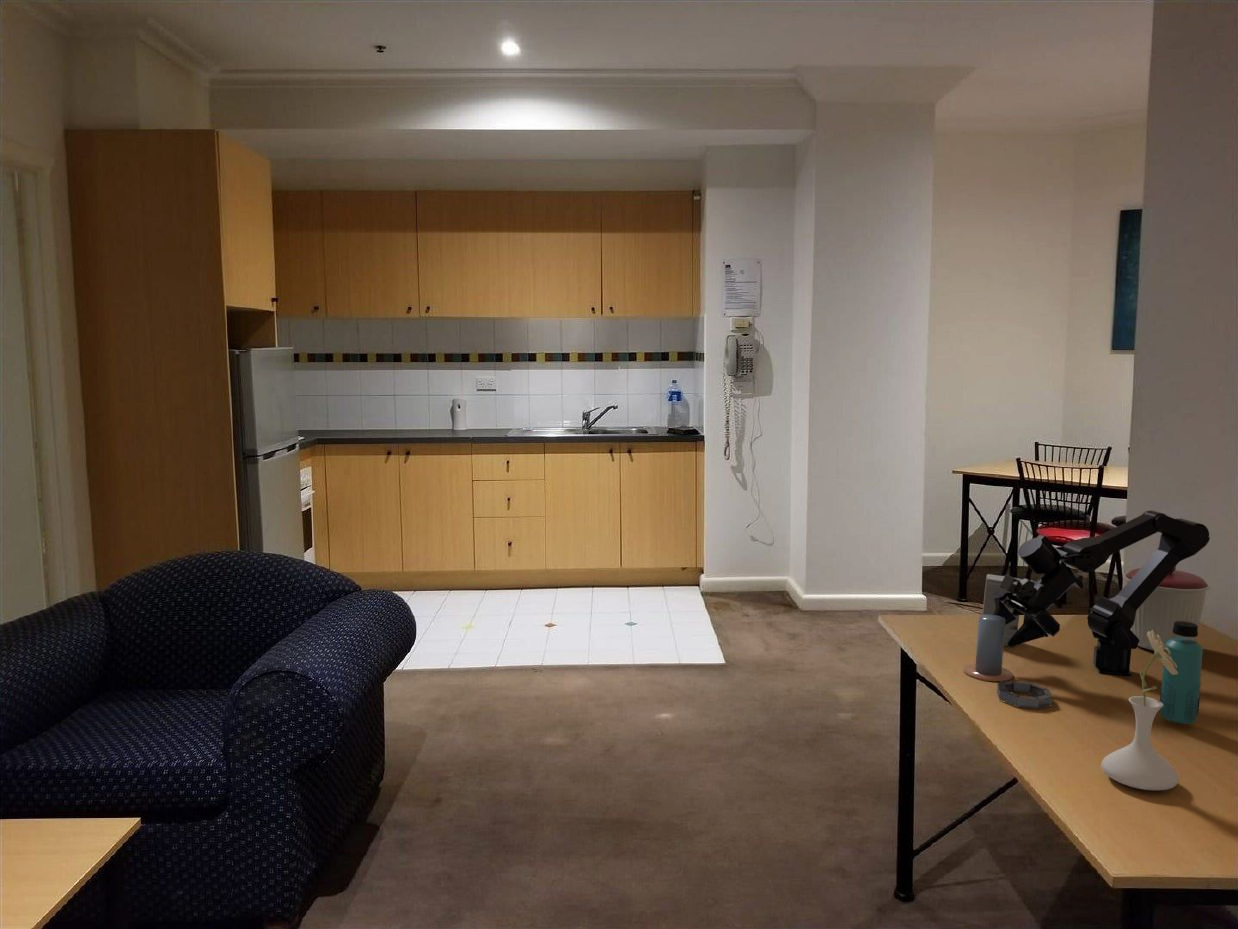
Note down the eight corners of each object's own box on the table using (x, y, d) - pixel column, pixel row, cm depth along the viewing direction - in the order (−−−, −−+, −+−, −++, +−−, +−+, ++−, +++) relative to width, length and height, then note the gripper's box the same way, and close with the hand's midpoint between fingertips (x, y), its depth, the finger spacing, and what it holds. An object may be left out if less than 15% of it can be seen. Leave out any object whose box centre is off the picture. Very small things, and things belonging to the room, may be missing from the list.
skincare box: (979, 643, 231) (984, 579, 229) (980, 635, 238) (985, 572, 236) (1018, 648, 228) (1022, 583, 226) (1017, 639, 235) (1022, 576, 233)
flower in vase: (1176, 804, 152) (1191, 651, 149) (1096, 786, 158) (1109, 638, 155) (1179, 773, 163) (1194, 630, 160) (1104, 757, 169) (1117, 618, 166)
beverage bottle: (1202, 733, 180) (1213, 629, 178) (1163, 729, 182) (1173, 626, 179) (1189, 719, 187) (1199, 619, 184) (1152, 716, 188) (1161, 616, 185)
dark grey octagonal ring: (1046, 693, 199) (1046, 684, 199) (1054, 711, 190) (1054, 701, 189) (995, 688, 202) (996, 679, 201) (1000, 705, 192) (1001, 695, 192)
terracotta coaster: (1009, 668, 214) (1009, 666, 214) (1015, 684, 204) (1015, 681, 204) (961, 664, 217) (961, 661, 217) (965, 679, 207) (965, 676, 207)
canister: (1206, 644, 234) (1214, 559, 231) (1201, 664, 219) (1210, 573, 216) (1122, 630, 244) (1130, 548, 241) (1112, 649, 229) (1120, 562, 226)
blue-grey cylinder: (1005, 671, 211) (1009, 618, 209) (995, 677, 207) (999, 623, 205) (980, 665, 214) (984, 613, 213) (971, 671, 210) (974, 618, 209)
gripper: (1003, 553, 217) (954, 602, 217) (1050, 573, 199) (996, 627, 199) (1034, 586, 219) (985, 635, 219) (1083, 609, 201) (1029, 662, 201)
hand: (997, 638), depth 210 cm, fingers open, 9 cm apart
